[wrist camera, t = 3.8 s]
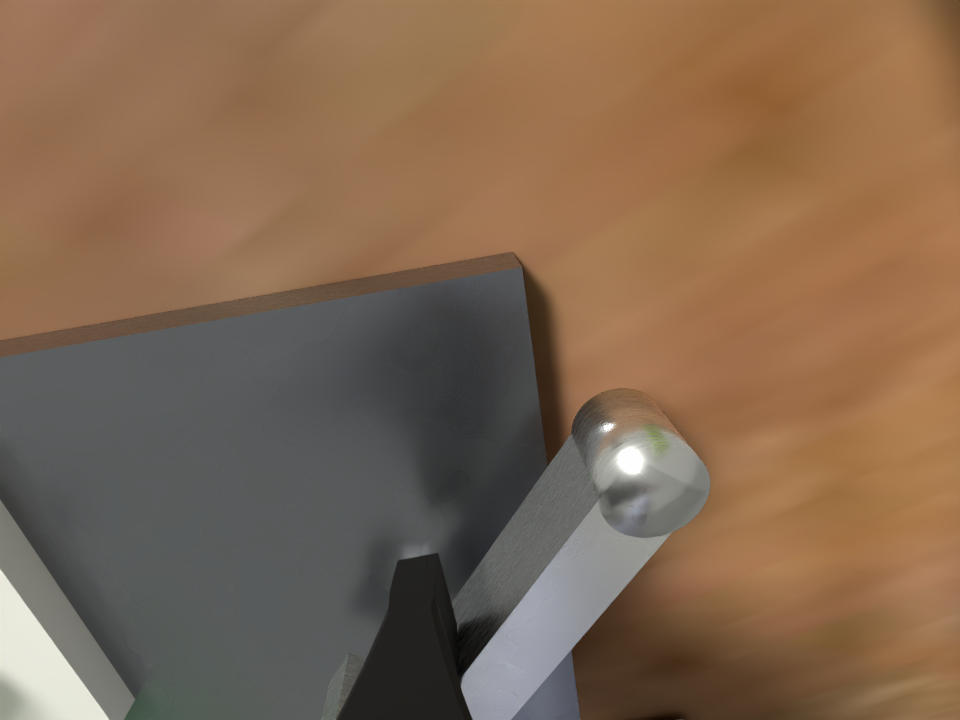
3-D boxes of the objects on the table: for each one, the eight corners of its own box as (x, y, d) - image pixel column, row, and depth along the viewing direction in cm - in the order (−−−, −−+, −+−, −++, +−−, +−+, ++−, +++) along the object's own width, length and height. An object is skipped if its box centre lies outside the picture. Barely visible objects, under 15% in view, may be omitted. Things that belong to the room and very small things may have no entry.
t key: (473, 704, 14) (478, 836, 12) (328, 659, 13) (297, 793, 11) (707, 413, 11) (792, 502, 8) (537, 324, 10) (570, 392, 7)
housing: (569, 672, 17) (580, 720, 15) (-51, 773, 17) (-95, 829, 15) (513, 251, 11) (522, 267, 10) (-410, 411, 11) (-530, 449, 10)
